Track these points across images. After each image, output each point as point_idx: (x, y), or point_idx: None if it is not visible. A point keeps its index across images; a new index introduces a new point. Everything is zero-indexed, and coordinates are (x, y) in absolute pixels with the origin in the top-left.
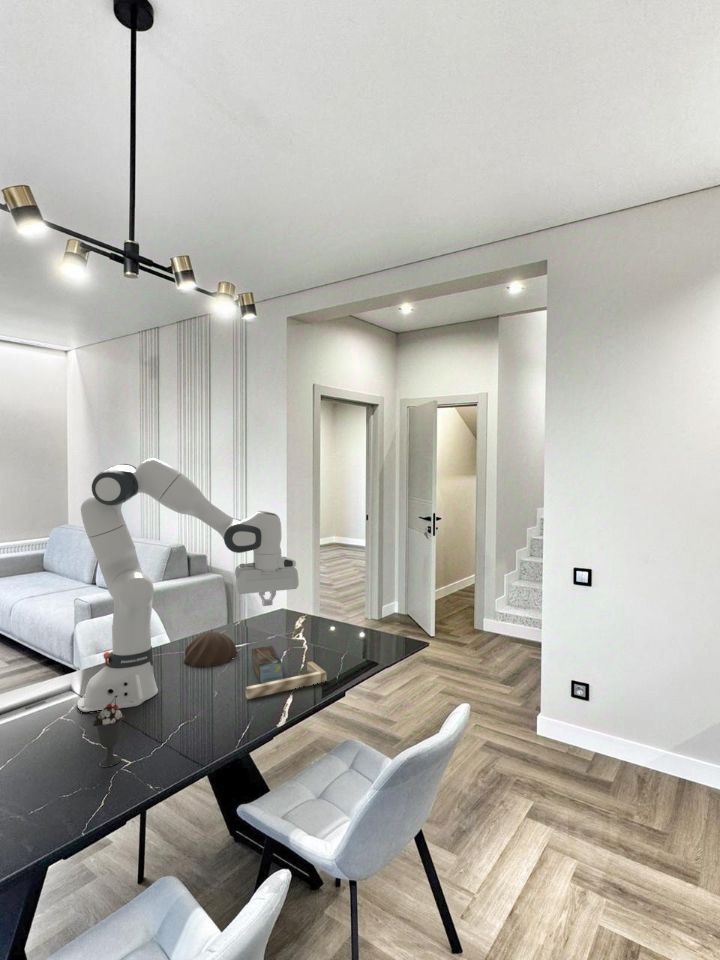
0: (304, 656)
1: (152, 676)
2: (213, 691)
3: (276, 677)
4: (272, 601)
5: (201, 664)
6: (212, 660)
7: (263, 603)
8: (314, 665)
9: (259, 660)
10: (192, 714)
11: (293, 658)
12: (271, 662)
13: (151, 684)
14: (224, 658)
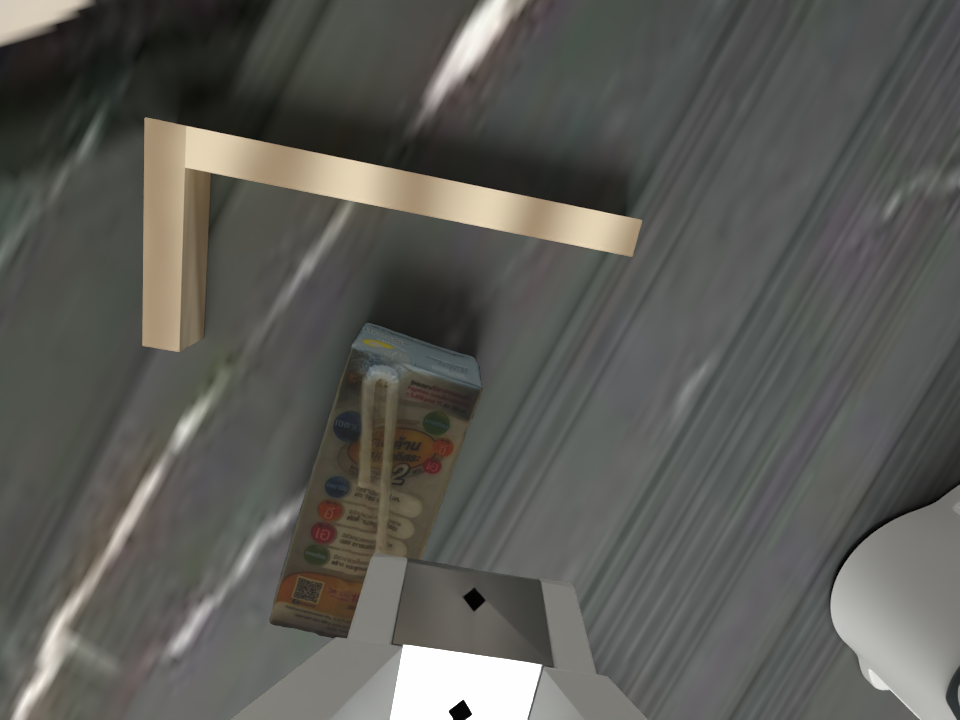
0: (120, 530)
1: (934, 602)
2: (686, 416)
3: (396, 336)
4: (357, 605)
5: None
6: None
7: (574, 633)
8: (160, 278)
9: (437, 471)
10: (886, 240)
11: (184, 541)
12: (400, 393)
13: (924, 566)
14: None
